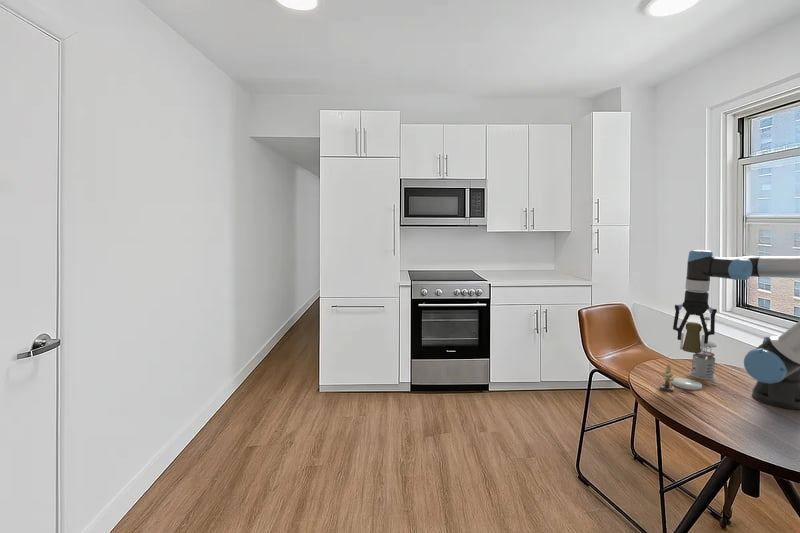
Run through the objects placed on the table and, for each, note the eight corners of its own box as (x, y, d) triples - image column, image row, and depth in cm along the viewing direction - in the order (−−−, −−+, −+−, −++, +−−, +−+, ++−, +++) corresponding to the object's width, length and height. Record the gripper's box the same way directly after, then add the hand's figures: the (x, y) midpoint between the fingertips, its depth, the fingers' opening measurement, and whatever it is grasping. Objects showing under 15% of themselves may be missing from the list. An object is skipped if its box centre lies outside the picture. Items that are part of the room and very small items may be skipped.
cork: (703, 353, 169) (706, 325, 168) (686, 352, 170) (689, 324, 169) (696, 348, 175) (698, 321, 174) (679, 347, 176) (681, 320, 175)
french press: (685, 375, 188) (689, 316, 185) (693, 368, 196) (698, 312, 193) (712, 381, 181) (718, 320, 178) (720, 374, 189) (725, 316, 186)
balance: (674, 385, 176) (676, 358, 175) (672, 395, 167) (674, 366, 165) (661, 383, 179) (663, 356, 177) (658, 392, 169) (660, 364, 168)
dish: (702, 384, 178) (702, 381, 178) (701, 392, 170) (701, 389, 170) (672, 378, 183) (673, 376, 183) (670, 386, 175) (671, 383, 175)
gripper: (726, 292, 168) (720, 351, 171) (668, 287, 178) (663, 343, 181) (728, 294, 162) (722, 356, 165) (667, 289, 172) (662, 348, 175)
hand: (691, 349), depth 173 cm, fingers closed on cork, 6 cm apart
